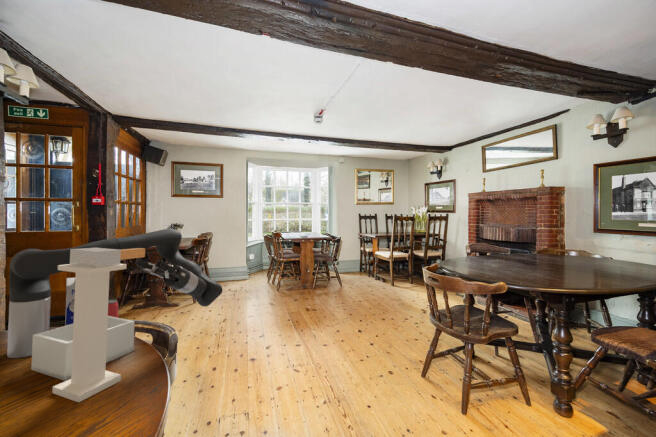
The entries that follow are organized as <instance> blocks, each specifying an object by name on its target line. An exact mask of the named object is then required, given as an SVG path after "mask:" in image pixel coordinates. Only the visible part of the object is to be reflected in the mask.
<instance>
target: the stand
mask: <svg viewBox="0 0 656 437" xmlns="http://www.w3.org/2000/svg"><path fill="white" fill-rule="evenodd" d="M127 265H128V264H126V263H120V265H113V266H105V267H98V268H94V267H85V266H77V265H70V264H65V265H58V270H61V271H63V272H69V273H75V277H74V278H75V300H74V324H73V347H72V370H71V378H70V379H68V380H66V381H63V382H60V383H58V384H55V385H53V386H52V392H51V393H52V394H54V395H57V396H59V397H63V398H65V399H68V400H71V401H73V402H76V403H81V402H83V401H85V400H86V399H88V398H90V397H92V396H94V395H96V394H99V393H100V392H101V391H104V390H105V389H108V388H109V387H111V386H113V385H116V384H118V383H119V382H121V381H122V374H120V373H116V372H113V371H109V370H106V367H107V366H106V365H107V363H106V345H107V321H108V300H109V293H110V272H114V271H120V270H126V269H127Z"/></svg>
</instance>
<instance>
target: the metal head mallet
mask: <svg viewBox="0 0 656 437" xmlns="http://www.w3.org/2000/svg"><path fill="white" fill-rule="evenodd" d="M138 258H141V259H142V258H146V249H144V248H134V249H122V250H118V249H106V248H82V249H70V265H77V266H85V267H94V268H98V267H105V266H113V265H120V264H121V261H120V260H123V259H126V260H130V259H138ZM123 261H124V260H123Z"/></svg>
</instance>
